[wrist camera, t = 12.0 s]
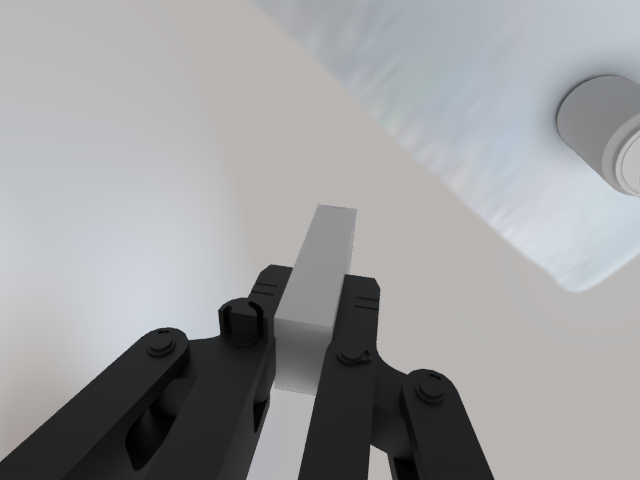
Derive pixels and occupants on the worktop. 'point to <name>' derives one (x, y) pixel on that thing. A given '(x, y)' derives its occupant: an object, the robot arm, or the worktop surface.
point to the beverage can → (605, 129)
